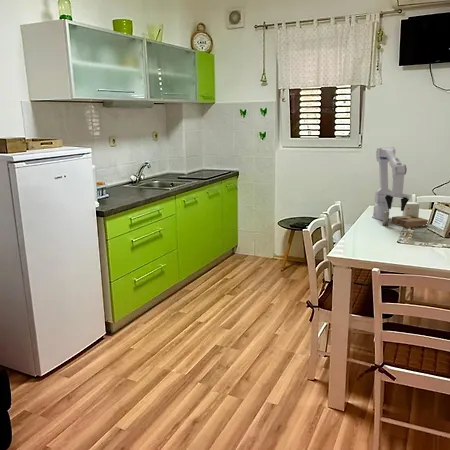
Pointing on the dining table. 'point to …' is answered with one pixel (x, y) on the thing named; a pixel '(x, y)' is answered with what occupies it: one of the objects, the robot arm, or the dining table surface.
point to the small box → (411, 209)
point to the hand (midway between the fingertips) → (395, 209)
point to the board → (409, 221)
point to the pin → (385, 218)
